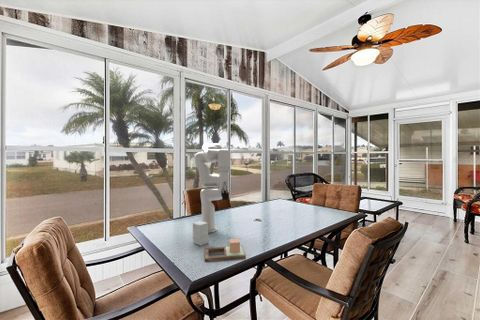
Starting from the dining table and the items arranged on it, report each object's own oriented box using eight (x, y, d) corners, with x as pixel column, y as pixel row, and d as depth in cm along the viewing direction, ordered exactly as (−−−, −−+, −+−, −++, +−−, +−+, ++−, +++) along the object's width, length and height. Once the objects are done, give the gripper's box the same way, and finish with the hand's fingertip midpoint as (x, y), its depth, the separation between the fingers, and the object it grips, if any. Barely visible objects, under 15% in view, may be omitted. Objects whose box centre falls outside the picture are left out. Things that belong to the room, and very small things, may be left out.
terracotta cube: (229, 248, 129) (229, 239, 129) (238, 247, 130) (238, 238, 130) (230, 252, 123) (230, 242, 123) (239, 251, 124) (239, 242, 124)
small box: (208, 243, 142) (208, 222, 142) (200, 246, 137) (200, 225, 137) (200, 239, 148) (200, 220, 147) (192, 242, 143) (192, 222, 143)
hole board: (205, 250, 131) (205, 247, 131) (241, 247, 134) (241, 244, 134) (204, 261, 117) (204, 258, 117) (245, 258, 120) (245, 255, 120)
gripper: (217, 169, 142) (217, 195, 142) (218, 170, 125) (218, 201, 125) (228, 168, 143) (229, 195, 143) (231, 170, 126) (232, 200, 126)
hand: (224, 197), depth 134 cm, fingers open, 9 cm apart
